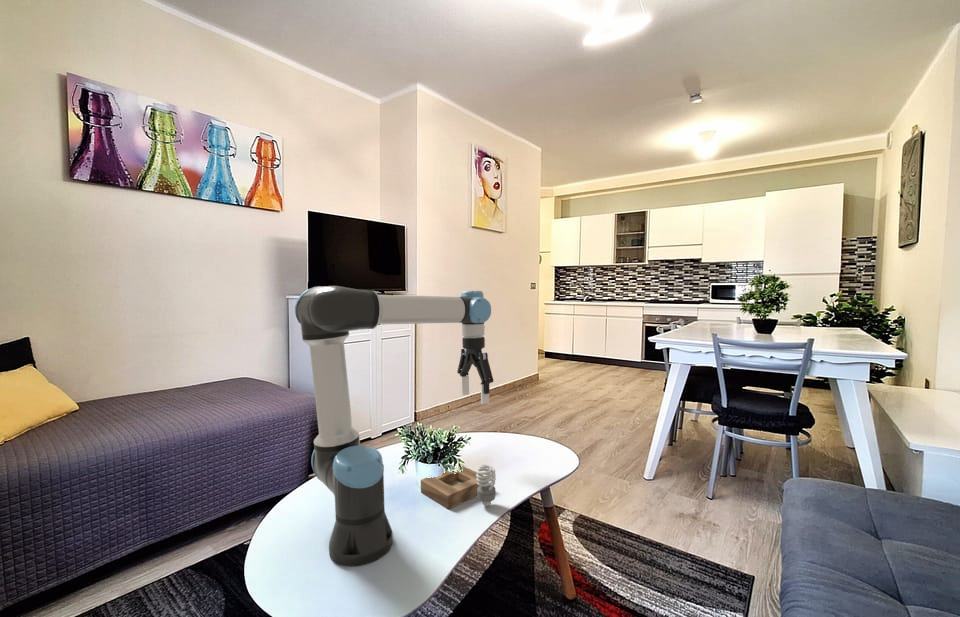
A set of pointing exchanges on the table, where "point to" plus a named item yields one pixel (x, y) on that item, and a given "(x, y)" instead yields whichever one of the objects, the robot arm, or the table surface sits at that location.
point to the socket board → (451, 487)
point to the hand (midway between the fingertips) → (474, 399)
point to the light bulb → (486, 490)
